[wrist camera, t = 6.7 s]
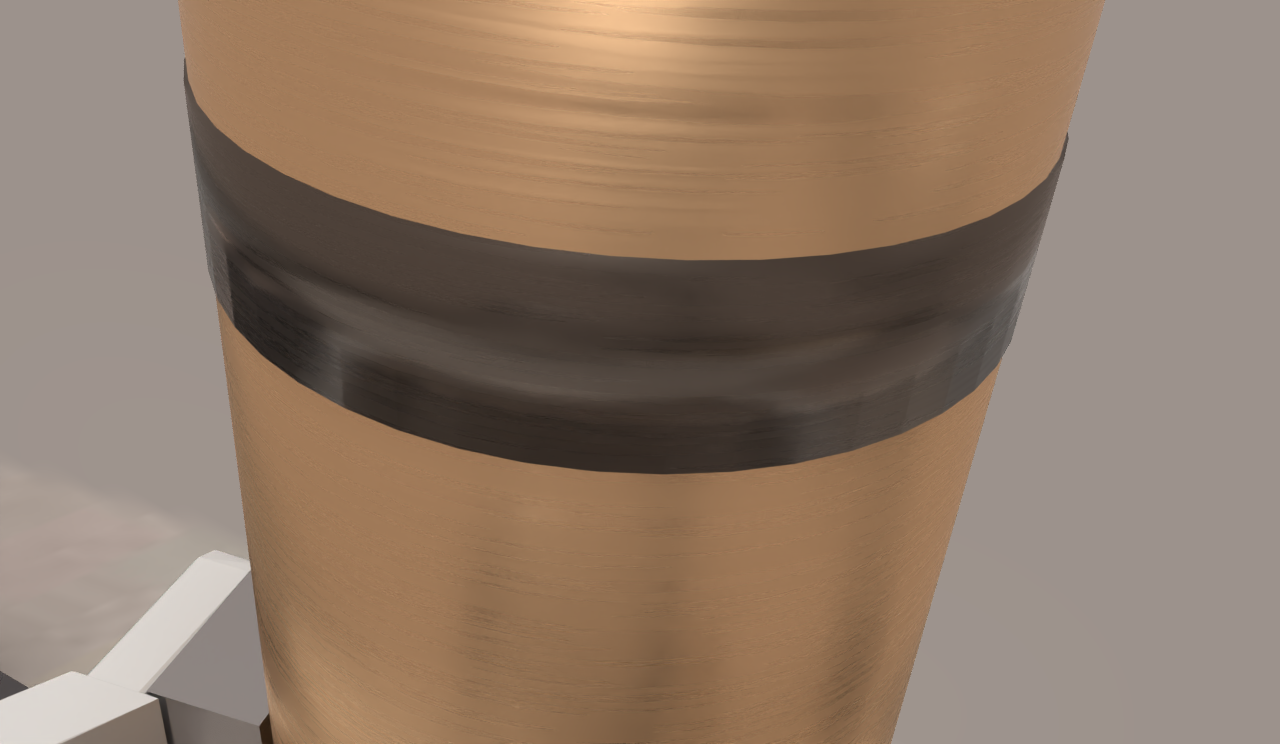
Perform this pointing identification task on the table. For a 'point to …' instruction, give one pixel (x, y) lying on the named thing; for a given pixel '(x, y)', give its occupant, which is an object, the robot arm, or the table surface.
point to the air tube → (613, 346)
